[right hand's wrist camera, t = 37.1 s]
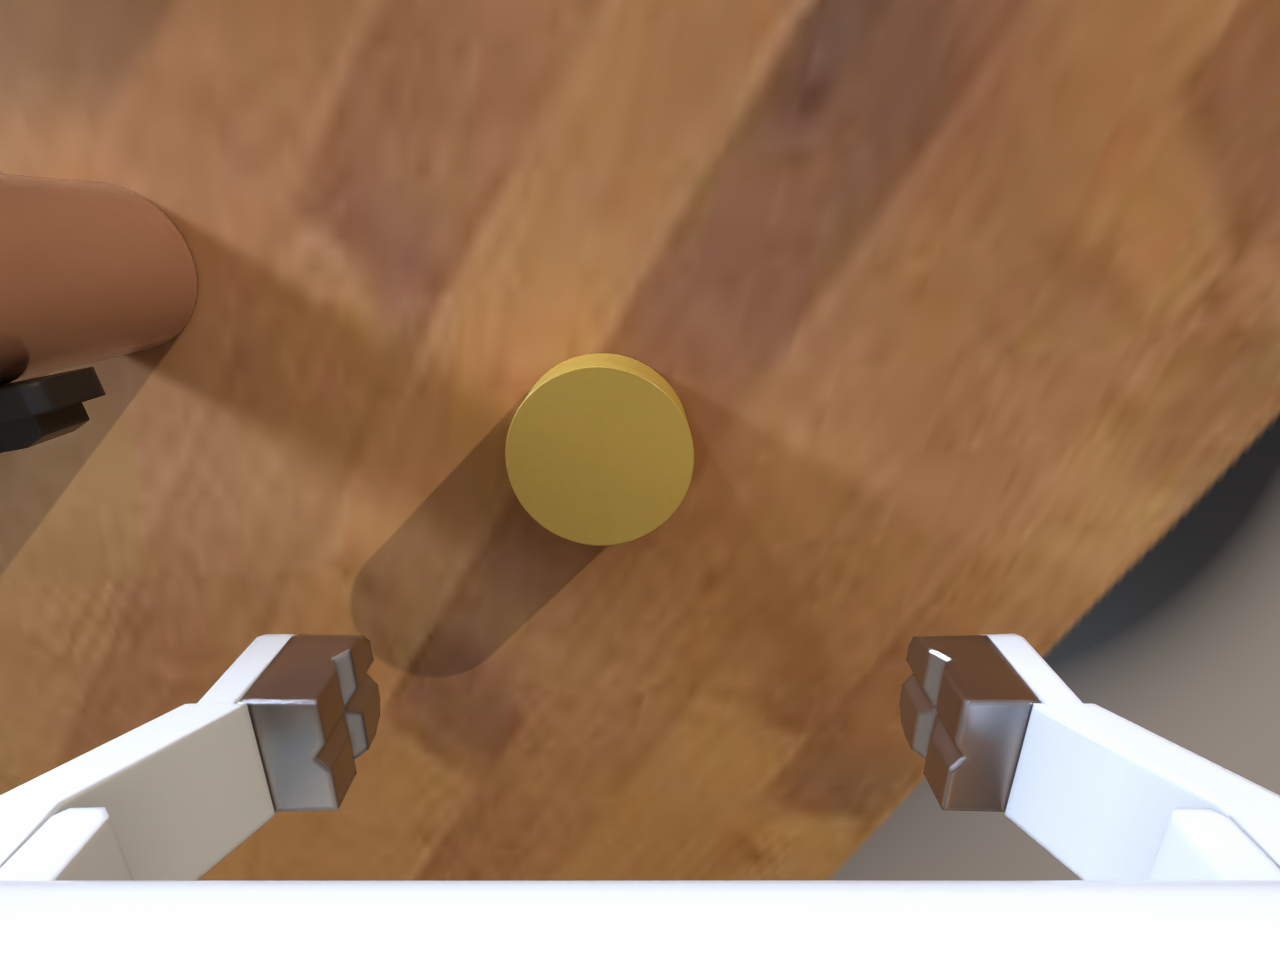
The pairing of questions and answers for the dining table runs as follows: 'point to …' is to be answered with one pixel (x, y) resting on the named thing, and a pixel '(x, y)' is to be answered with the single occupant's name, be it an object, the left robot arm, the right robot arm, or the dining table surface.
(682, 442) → the lid
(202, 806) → the right robot arm
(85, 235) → the jar
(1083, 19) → the dining table surface
